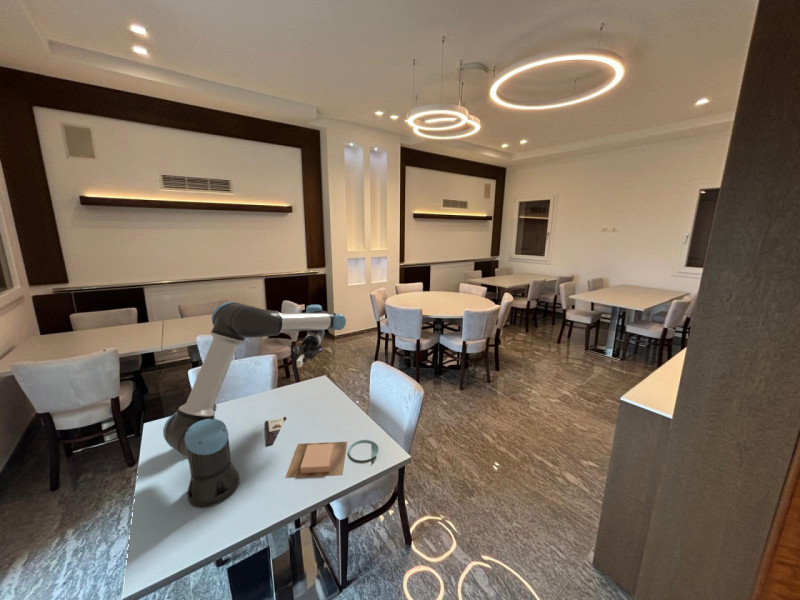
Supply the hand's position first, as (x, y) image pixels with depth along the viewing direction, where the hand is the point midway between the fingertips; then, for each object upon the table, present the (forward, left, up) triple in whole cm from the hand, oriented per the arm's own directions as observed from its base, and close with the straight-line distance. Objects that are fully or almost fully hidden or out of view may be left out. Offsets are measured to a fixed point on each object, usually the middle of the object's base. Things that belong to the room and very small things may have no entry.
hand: (298, 364), depth 122 cm
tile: (+8, -7, -32) cm, 34 cm away
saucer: (+25, -9, -36) cm, 44 cm away
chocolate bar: (-14, +8, -36) cm, 39 cm away
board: (+8, -11, -35) cm, 38 cm away
